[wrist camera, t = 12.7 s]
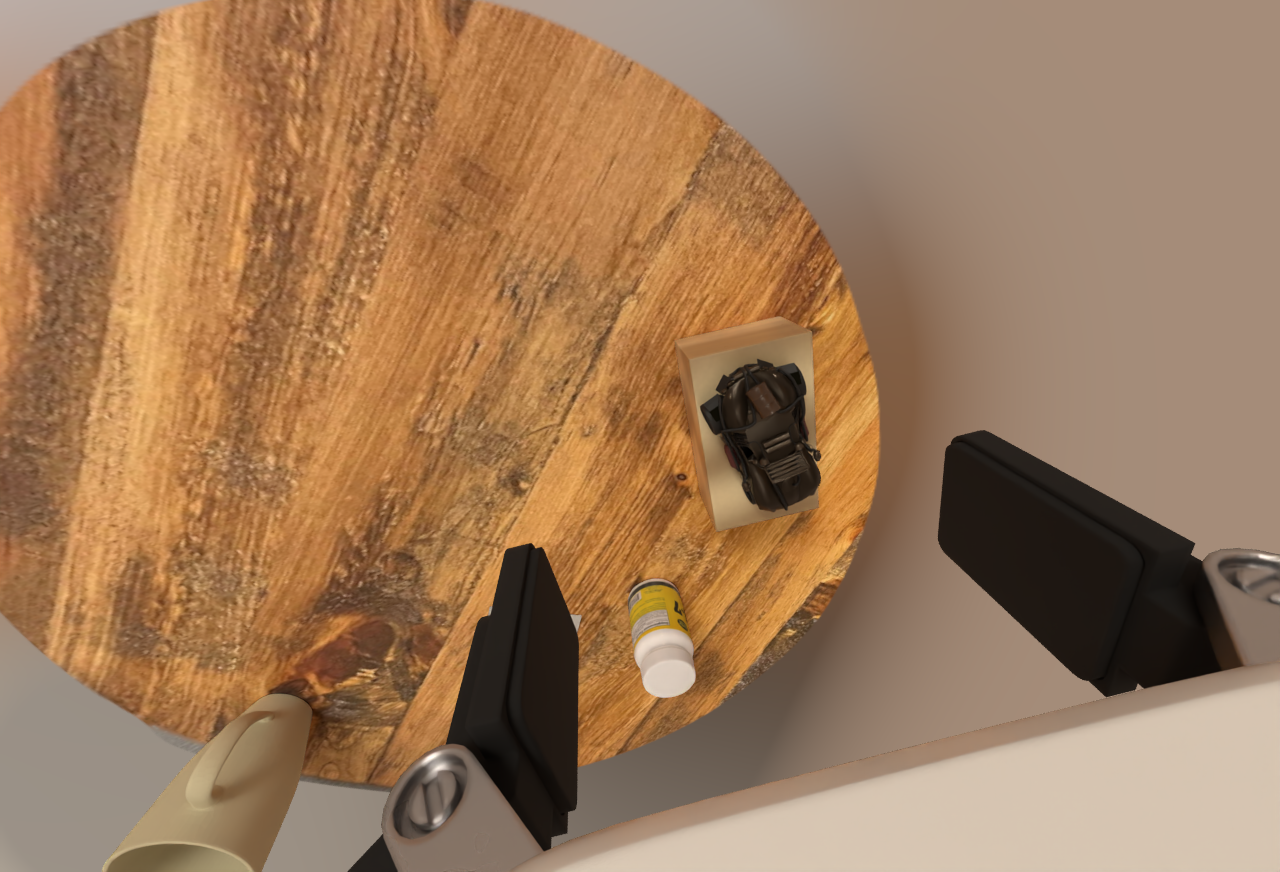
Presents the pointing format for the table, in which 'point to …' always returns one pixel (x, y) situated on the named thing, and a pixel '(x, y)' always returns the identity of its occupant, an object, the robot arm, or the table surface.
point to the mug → (225, 797)
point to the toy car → (766, 433)
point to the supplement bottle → (661, 638)
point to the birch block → (700, 377)
